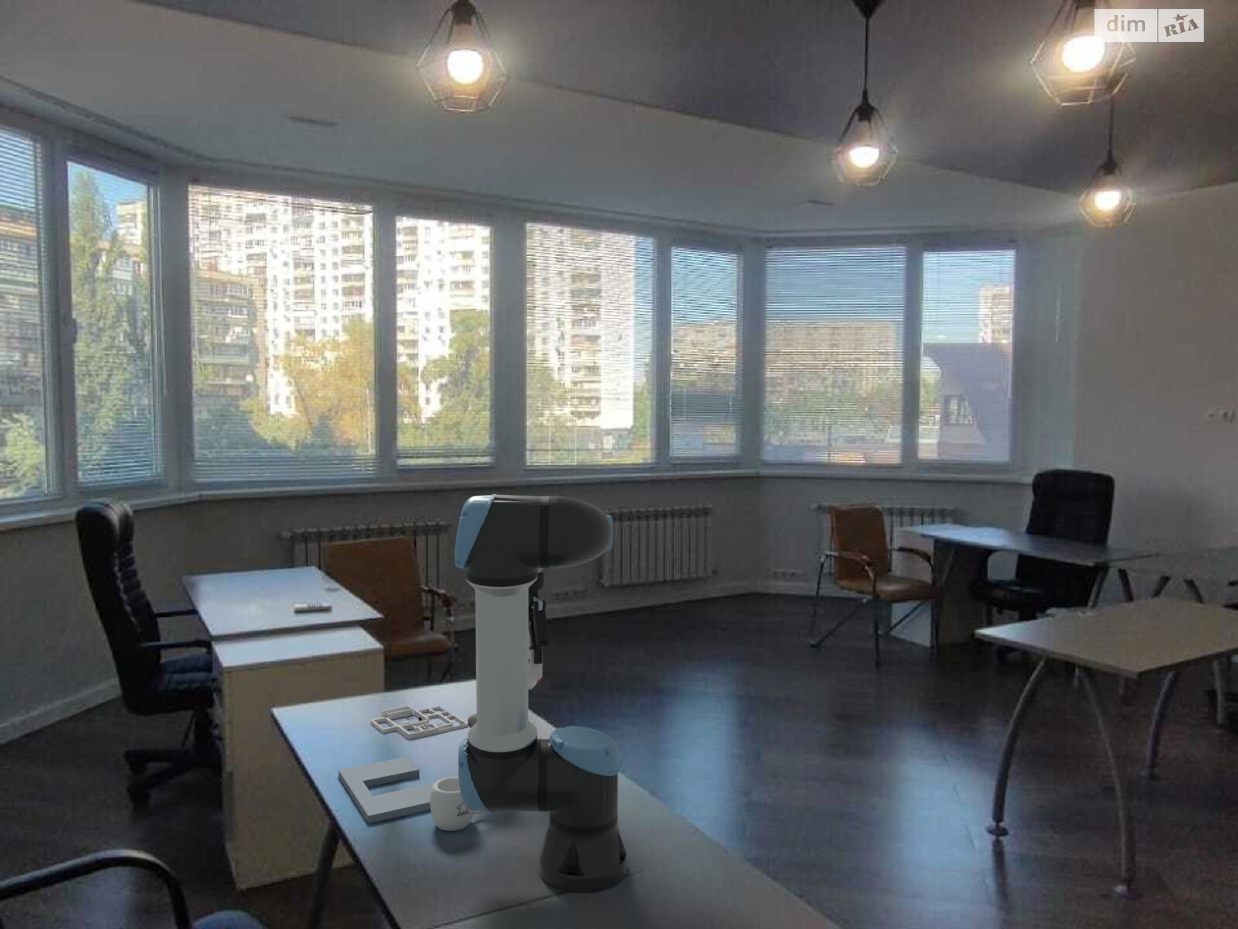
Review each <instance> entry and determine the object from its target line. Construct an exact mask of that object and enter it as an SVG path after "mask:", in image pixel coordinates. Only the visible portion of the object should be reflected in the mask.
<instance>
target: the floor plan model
mask: <svg viewBox="0 0 1238 929" xmlns="http://www.w3.org/2000/svg"><path fill="white" fill-rule="evenodd" d="M437 710H439V711H440V712H437ZM424 713H427V714H426V715H424ZM380 715H381V717H378V718H372V719H370V725H372V726H373V727H374V728H376V729H377V730H378V731H380V732H381V734H386V733H387V732H388V733H392V732H395V731H396V732H398V733H399V734H401V735H402V736H404V737H405V738H406V739H407V740H409V741H410V740H413V739H417V738H422V737H426V736H431V735H436V734H441V733H445V732H446V733H447V732H450V731H454V730H458V729H463V728H467V727H469V726H468V722H467V721H465V720H463V719H462V718H461V717H459V716H457V715H456V714H452V713H450V712H449V711H448V710H446V709H444V708H443V707H442V706H434V707H429V708H425V709H421V710H420V709H419V710H417V709H414V708H413V707H412V706H410V705H409V704H408V705H403V706H399V707H398V706H397V707H393V708H389V709H383V710H380ZM413 715H414V716H415V717H416V718H418V719H419V721H416V722H410V720H411V719H414V717H413ZM404 717H406V721H402V722H401V723H402V725H400V724H397V723H396V722H394V721H393V720H395V719H400V718H404ZM433 718H439V719H441V720H442V721H444V722H445V723H446V724H444V723H438V724H437V725H435V724H434V722H431V723H430V719H433ZM452 720H454V721H455V722H456V723H457V722H459V725H456V724H455V723H454V721H452ZM384 722H385V723H386V724H388V725H389V727H385V728H384V726H381V724H380V723H384ZM408 730H413V731H414V732H410V731H408Z"/></svg>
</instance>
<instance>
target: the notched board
mask: <svg viewBox="0 0 1238 929" xmlns="http://www.w3.org/2000/svg"><path fill="white" fill-rule="evenodd" d="M419 777H420V768H419V767H418V766H417V765H416V764H415V763H414V762H413V761H412V759H411V758H410V757H409V756H404V757H399V758H394V759H388V760H382V761H378V762H372V763H367V764H361V765H357V766H352V767H347V768H342V769H338V779H339V780H340V782H341V783H342V785H343V786H344V788H345V789H346V791H347V793H348V794H349V796H350V798H351V799H352V800H353V802H354V804H355V805H356V806H357V808H358V809H359V812H360V813H361V814H362V816H363V818H365V821H366V822H367V824H373V823H377V822H381V821H385V820H390V819H394V818H398V817H404V816H408V815H413V814H417V813H421V812H426V811H429V810H430V811H431V807H430V795H431V789H432V787H433V785H434V783H429V784H428V783H427V784H423V785H419V786H418V785H417V786H413V787H409V788H405V789H400V790H396V791H395V790H394V791H391V792H385V793H381V794H377V795H373V794H372V793H371V791H370V789H369V787H374V786H379V785H384V784H389V783H394V781H395V782H399V781H398V780H400V781H403V780H410V779H413V778H419ZM407 814H408V815H407Z"/></svg>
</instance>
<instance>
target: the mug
mask: <svg viewBox="0 0 1238 929" xmlns="http://www.w3.org/2000/svg"><path fill="white" fill-rule="evenodd" d="M430 807H431V809H430V812H431V816H432V820H433V823H434V824H435V826H437V828H438V829H440V830H442V831H448V832H453V831H454V832H455V831H459V830H460V831H461V830H462V829H464V828H466V827H468V826H469V824H470V823H471V822H472V819H473V818H474V815H481V814H484V813H486V812H487V811H473V810H471V809H469V808H468V807H467V806H466V805H465V804H464V802H463V799H462V796H461V792H460V786H459V777H458V776H449V777H444V778H441V779H438V780H437V781H435V782H434V783H433V787H432V789H431V795H430Z"/></svg>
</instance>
